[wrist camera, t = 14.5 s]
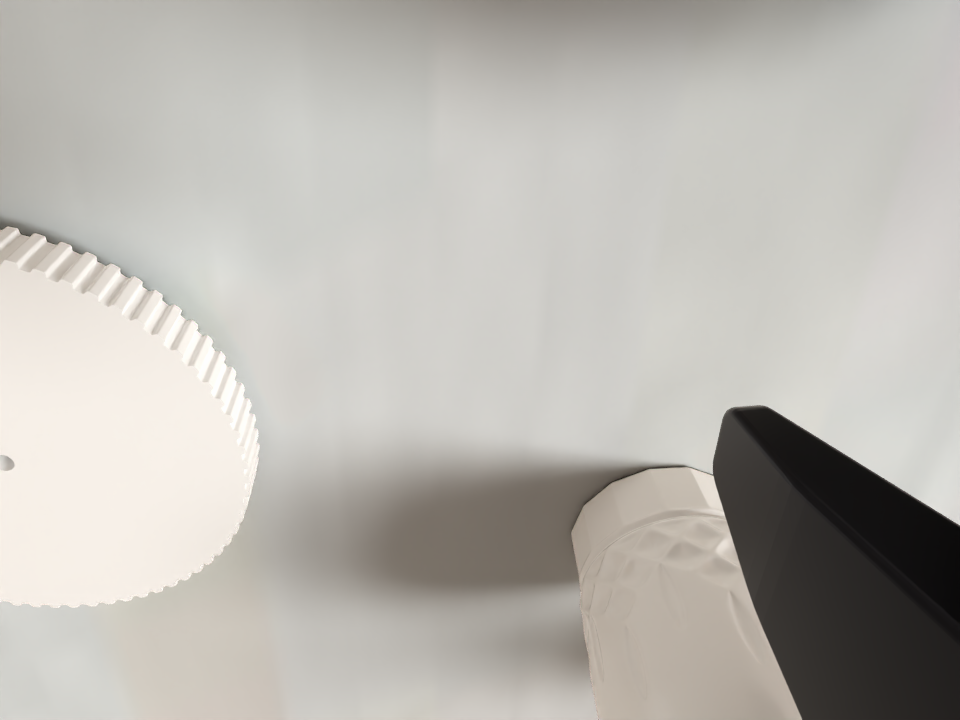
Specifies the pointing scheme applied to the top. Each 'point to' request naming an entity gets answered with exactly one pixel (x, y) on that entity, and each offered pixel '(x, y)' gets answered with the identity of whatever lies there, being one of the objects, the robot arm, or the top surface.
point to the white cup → (671, 606)
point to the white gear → (109, 433)
